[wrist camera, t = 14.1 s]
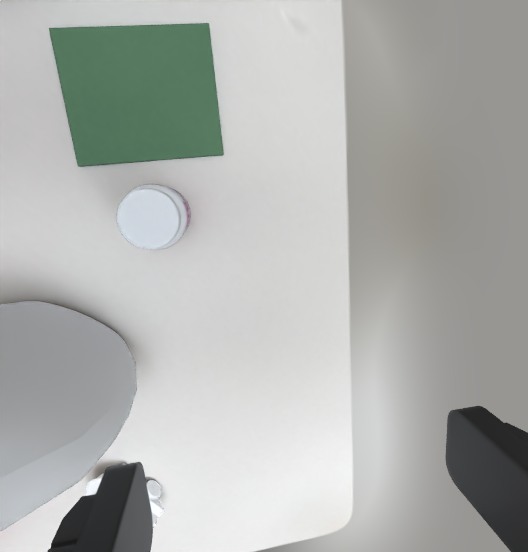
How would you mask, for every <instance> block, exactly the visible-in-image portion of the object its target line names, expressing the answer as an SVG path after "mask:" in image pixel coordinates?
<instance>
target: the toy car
mask: <svg viewBox="0 0 528 552" xmlns="http://www.w3.org/2000/svg"><path fill="white" fill-rule="evenodd" d="M122 465H125V464H122ZM103 474H104V473H102V474H100V475H99V476H98V477H97V478H96V479H92V480H91V481H89V482H88V483H87V485H86V495H87V496H88V495H94V494H96V492H97V490H98V487H99V485H100V482H101V480H102V477H103ZM146 485H147V490H148V495H149V500H150V505H151V511H152V519H153V528H154V527H155V526H156V522H157V518H158V517H159V516H160V515H161V514H162V513H163V512H164V508H162V505H161V503H160V501H159V498H160V495H161V487H160V485H159V484H158V483H157V482H156V481H154V480H150V481H148V482H147V483H146Z"/></svg>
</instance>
